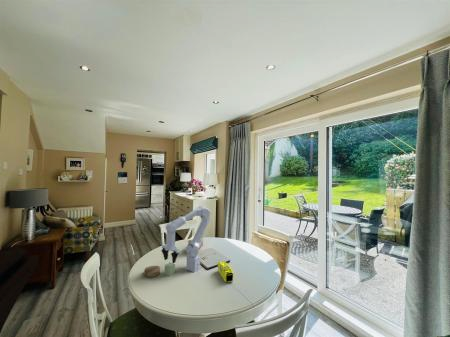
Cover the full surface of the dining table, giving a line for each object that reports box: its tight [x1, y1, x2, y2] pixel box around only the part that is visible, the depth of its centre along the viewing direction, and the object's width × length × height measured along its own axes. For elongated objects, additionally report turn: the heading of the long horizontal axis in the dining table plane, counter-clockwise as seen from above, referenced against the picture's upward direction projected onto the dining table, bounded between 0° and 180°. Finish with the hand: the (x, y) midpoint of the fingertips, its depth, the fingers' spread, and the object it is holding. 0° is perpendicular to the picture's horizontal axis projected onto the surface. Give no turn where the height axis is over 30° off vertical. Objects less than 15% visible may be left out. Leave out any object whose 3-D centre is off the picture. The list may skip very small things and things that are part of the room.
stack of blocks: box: [187, 234, 204, 251], centre depth 176 cm, size 21×6×12 cm, turn 169°
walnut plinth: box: [143, 265, 161, 279], centre depth 134 cm, size 10×10×3 cm
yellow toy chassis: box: [217, 260, 234, 283], centre depth 134 cm, size 16×6×8 cm, turn 21°
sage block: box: [164, 262, 176, 277], centre depth 136 cm, size 4×4×6 cm
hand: (170, 261), depth 135 cm, fingers open, 7 cm apart
